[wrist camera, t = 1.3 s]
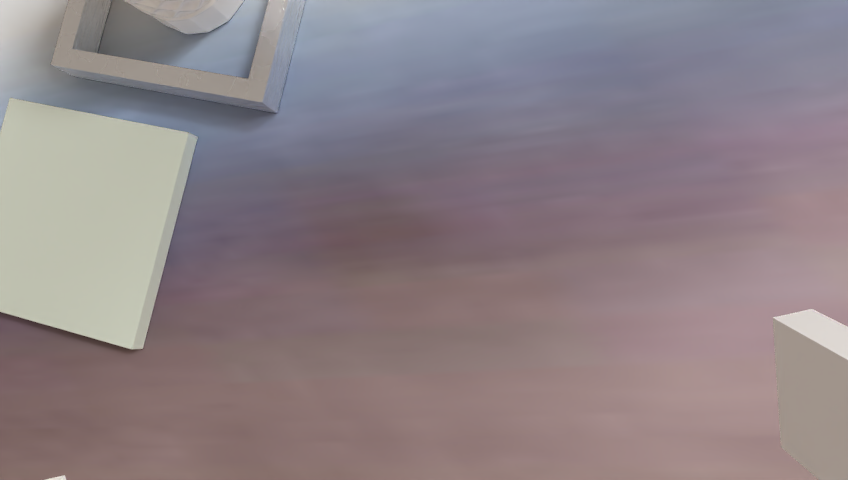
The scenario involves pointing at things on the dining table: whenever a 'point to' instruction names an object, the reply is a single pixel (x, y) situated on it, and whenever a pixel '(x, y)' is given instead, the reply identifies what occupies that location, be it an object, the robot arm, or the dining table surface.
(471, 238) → the dining table surface
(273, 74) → the square frame
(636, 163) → the dining table surface
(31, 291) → the sage tile
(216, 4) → the white cup
